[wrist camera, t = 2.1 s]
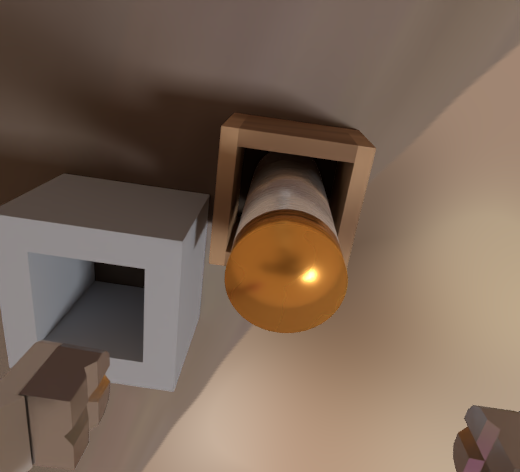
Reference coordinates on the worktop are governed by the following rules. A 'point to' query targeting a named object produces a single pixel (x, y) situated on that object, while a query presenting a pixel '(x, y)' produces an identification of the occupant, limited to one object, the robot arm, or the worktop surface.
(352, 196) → the mount
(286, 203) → the pin
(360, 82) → the worktop surface
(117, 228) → the socket
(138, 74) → the worktop surface
